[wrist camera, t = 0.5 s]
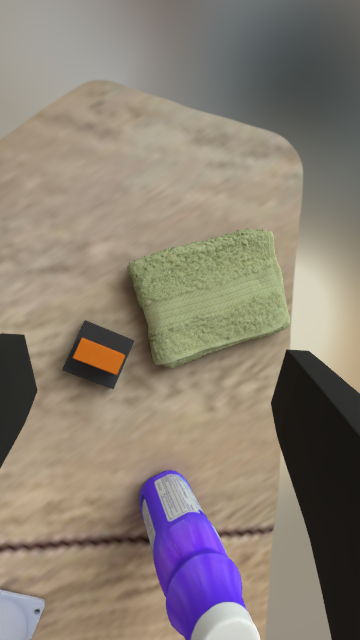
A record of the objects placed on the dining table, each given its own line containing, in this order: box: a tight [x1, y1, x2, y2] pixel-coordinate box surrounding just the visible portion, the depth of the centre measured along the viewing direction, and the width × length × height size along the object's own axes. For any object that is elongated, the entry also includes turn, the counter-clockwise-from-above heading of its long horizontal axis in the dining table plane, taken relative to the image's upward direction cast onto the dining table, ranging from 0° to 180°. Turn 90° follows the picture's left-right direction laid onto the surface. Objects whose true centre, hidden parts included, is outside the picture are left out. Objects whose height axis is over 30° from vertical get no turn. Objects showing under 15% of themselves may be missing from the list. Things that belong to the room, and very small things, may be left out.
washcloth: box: [127, 228, 290, 368], centre depth 36 cm, size 13×18×3 cm
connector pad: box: [63, 320, 134, 389], centre depth 32 cm, size 5×5×4 cm
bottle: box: [139, 470, 260, 640], centre depth 26 cm, size 7×6×17 cm
